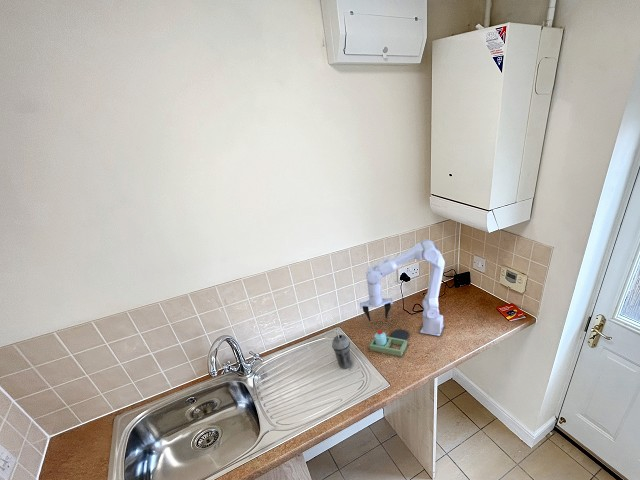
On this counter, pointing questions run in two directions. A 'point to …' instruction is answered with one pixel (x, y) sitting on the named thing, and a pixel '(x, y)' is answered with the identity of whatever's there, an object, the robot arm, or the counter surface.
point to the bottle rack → (387, 346)
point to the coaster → (400, 334)
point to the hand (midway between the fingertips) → (377, 318)
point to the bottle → (380, 338)
